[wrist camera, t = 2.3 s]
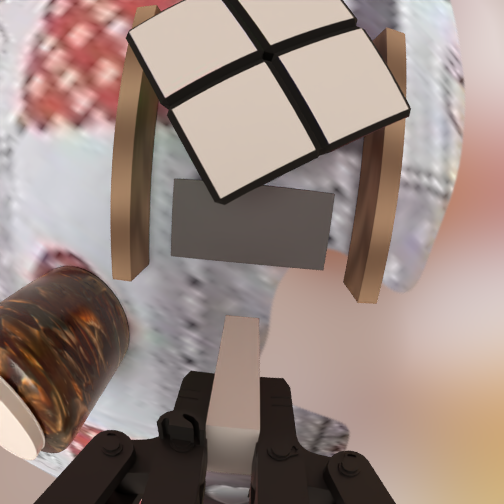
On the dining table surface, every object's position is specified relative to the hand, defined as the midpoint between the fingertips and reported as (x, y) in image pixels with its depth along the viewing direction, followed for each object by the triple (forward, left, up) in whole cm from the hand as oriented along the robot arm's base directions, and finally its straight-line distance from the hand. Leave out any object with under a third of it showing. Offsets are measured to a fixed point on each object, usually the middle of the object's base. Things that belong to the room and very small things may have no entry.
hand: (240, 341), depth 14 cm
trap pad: (+4, 0, -11) cm, 11 cm away
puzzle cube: (+13, 0, -11) cm, 16 cm away
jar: (-7, +16, -11) cm, 21 cm away
